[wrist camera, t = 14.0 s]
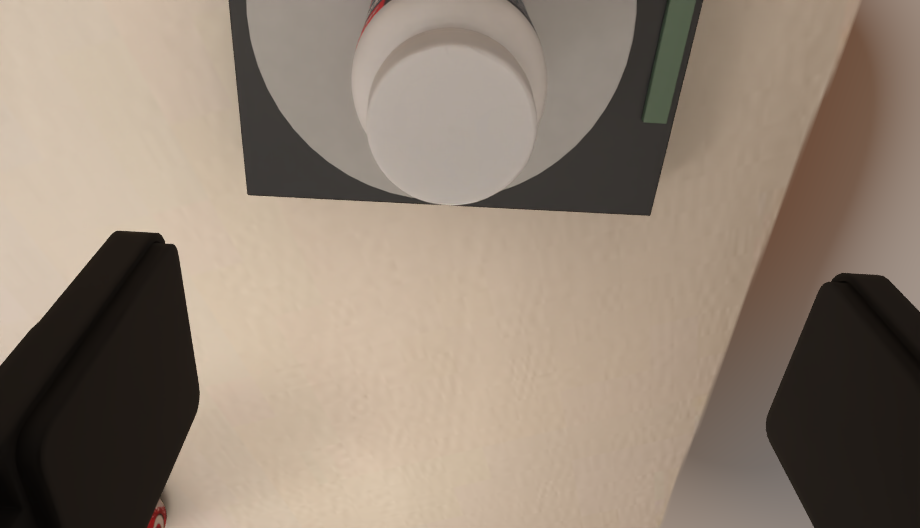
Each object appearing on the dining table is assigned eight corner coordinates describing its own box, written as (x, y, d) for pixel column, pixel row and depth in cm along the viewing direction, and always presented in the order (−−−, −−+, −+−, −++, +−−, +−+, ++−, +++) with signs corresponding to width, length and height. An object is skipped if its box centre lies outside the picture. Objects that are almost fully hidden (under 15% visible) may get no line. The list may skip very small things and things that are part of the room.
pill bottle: (366, -60, 22) (331, 2, 15) (531, -53, 22) (580, 13, 15) (369, 103, 25) (341, 225, 17) (516, 108, 25) (551, 231, 18)
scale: (723, -196, 23) (760, -199, 20) (635, 188, 31) (654, 223, 28) (226, -242, 22) (198, -250, 19) (260, 168, 30) (243, 202, 27)
